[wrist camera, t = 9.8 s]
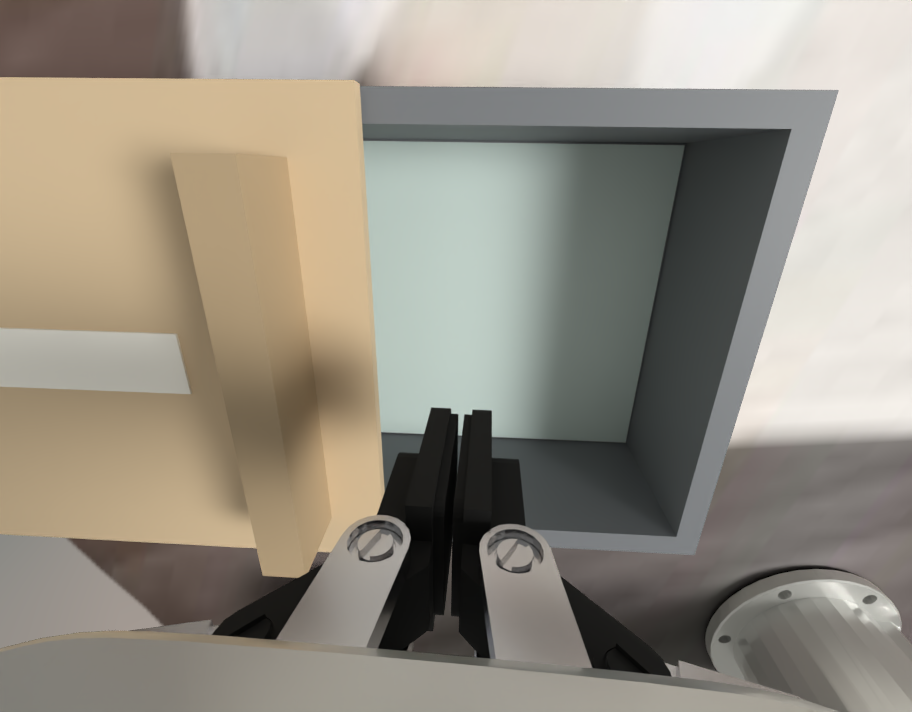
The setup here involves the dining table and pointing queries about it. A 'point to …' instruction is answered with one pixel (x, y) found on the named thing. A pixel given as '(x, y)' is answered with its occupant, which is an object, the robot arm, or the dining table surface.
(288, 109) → the lid
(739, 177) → the box
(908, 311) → the dining table surface
